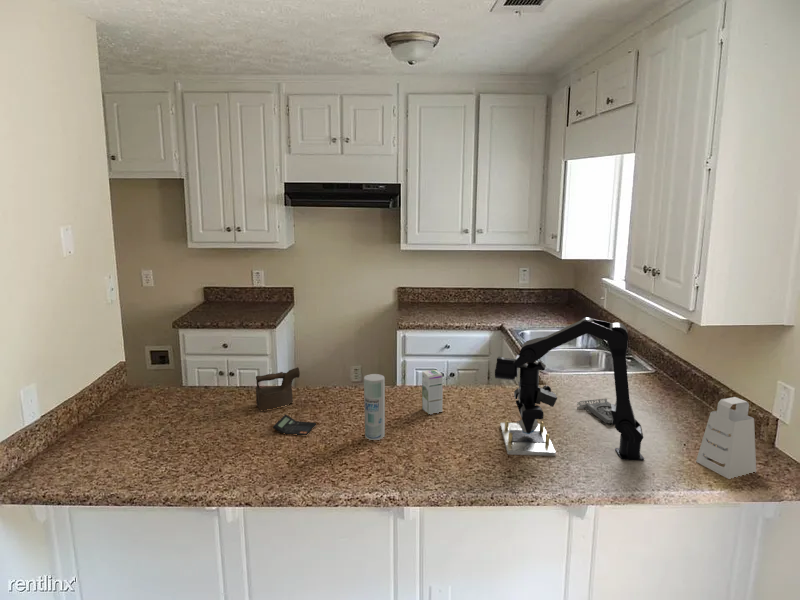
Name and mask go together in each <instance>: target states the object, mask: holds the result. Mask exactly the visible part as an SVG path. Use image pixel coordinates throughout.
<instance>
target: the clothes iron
mask: <svg viewBox="0 0 800 600" xmlns="http://www.w3.org/2000/svg"><path fill="white" fill-rule="evenodd" d="M300 371H301V370H300V368H299V367H298V366H297V367H295V368H291V369H289V370H288V371H287V372H283V371H280V372H278V373H267V374H264V375H256V376H255V382H256V387H255V397H256V399H255V403H256V407H258V409H259V411H260V410H267V409H273V408H277V407H281V406H285V405H288V404H290V403H292V402H293V403H294V399H293V398H294V397H293V389H292V387H293V386H292V385H293V381H294V379H296V378H297V379H299V378H300V375H301V373H300ZM277 379H282V381H281V385H273V386H263V387H260V385H259V383H261V382H264V381H266V382H267V381H268V382H270V381H273V380H277ZM293 403H292V404H293ZM290 405H291V404H290ZM288 406H289V405H288Z"/></svg>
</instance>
